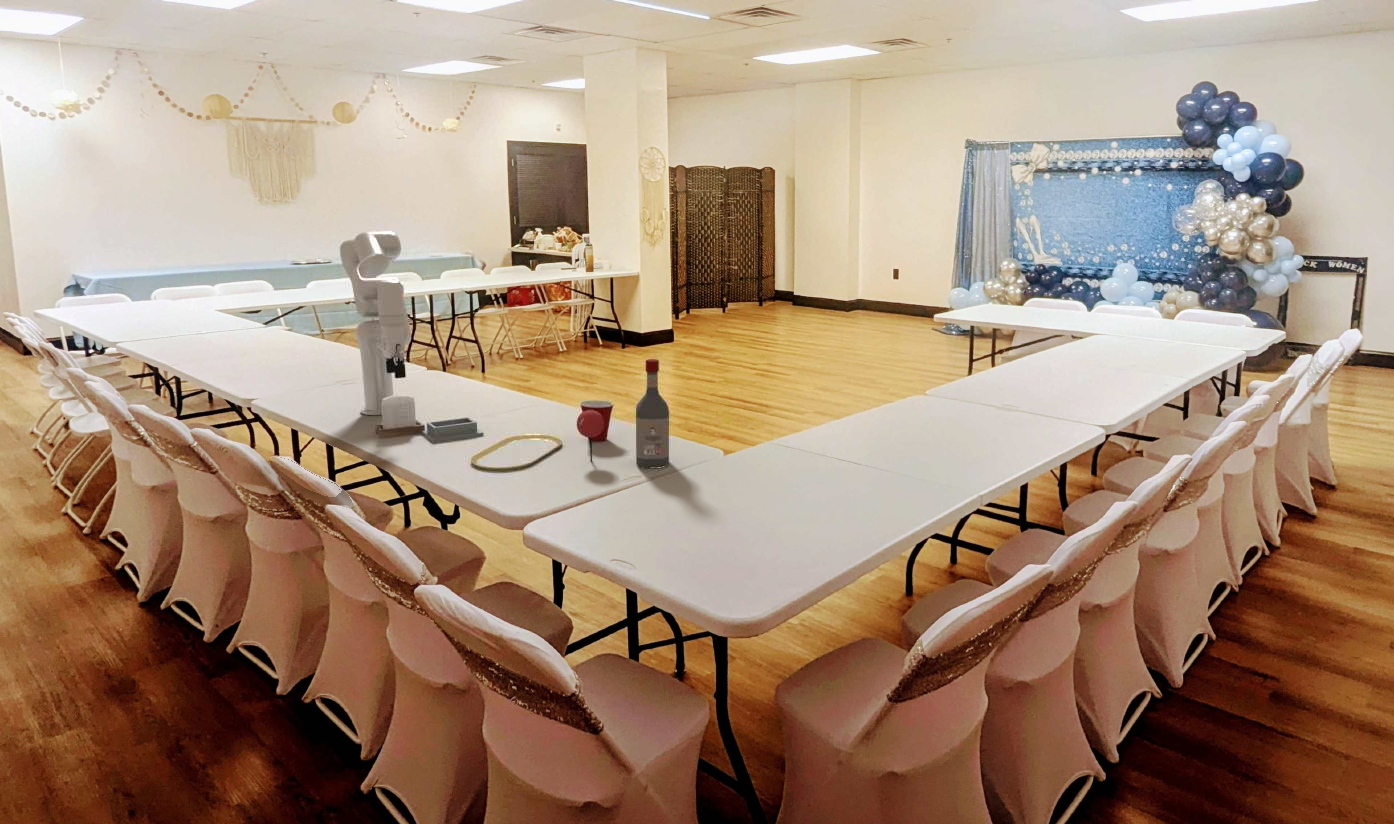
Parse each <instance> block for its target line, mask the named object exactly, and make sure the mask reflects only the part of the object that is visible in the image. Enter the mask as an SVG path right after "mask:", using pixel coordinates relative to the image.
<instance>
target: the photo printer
mask: <svg viewBox="0 0 1394 824" xmlns="http://www.w3.org/2000/svg"><path fill="white" fill-rule="evenodd" d="M381 417H382V424H383V430H385V429H393V428H401V427H408V426H416V420H417V418H416V403H415V399H414V396H412V395H410V394H409V395H408V394H403V393H402V394H393V396H389V397H386V398H384V399H382V415H381Z"/></svg>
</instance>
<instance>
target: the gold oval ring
mask: <svg viewBox="0 0 1394 824" xmlns="http://www.w3.org/2000/svg"><path fill="white" fill-rule="evenodd" d="M533 438H538V439H537V440H540V439H546V440H545V441H548V440H552V441H553V442H552V441H551V442H552V443H554V442H555V443H554V444H556V443H557V444H558V445H557V444H556V446H555V447H554V448H552V449H550V450H549V451H547V452H545V453H543V454H542V455H541V456H539V457H537V458H536V459H534V460H532V461H530V462H528V463H523V464H520V465H515V466H514V465H513V466H503V467H502V466H497V467H496V466H485V465H480V464H478V461H480V460H481V459H484V457H483V456H485V457H487V456H489V455H490V453H491V452H492V453H494V452H496V451H497V449H498V448H500V447H502V448H503V447H505V446H507V445H509V444H511V443H510V442H512V441H514V440H520V441H522V440H521V439H529V440H534V439H533ZM508 443H509V444H508ZM512 443H513V442H512ZM506 444H507V445H506ZM562 444H563V440H562V439H561V438H559V437H557V436H555V435H550V434H539V433H538V434H534V433H533V434H531V433H529V434H521V435H515V436H514V435H513V436H510V437H507V438H505V439H502V440H500V441H498V442H497V443H495V444H493V445H491V446H489V447H487V448H484V449H483V450H481V451H479V452H477V453H476V454H474V455H472V456H471V458H470V461H471V464H473V466H474V467H477V468H479V469H482V470H487V471H495V472H496V470H498V471H499V470H503V471H513V470H512V469H514V470H519V469H518V468H520V469H523V467H524V468H526V466H527V467H530V466H532V465H533V464H534V463H537V462H538V461H540V460H541V459H543V458H545V457H546V456H548V455H549V454H551V453H552V452H554V451H556V450H557V449H559V448H561V446H562ZM500 449H501V448H500ZM495 450H496V451H495ZM498 450H499V449H498ZM493 451H494V452H493ZM492 453H491V454H492ZM488 454H489V455H488ZM486 455H487V456H486ZM480 458H481V459H480ZM479 459H480V460H479ZM539 459H540V460H539ZM477 460H478V461H477ZM499 472H500V471H499Z"/></svg>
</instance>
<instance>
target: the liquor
mask: <svg viewBox="0 0 1394 824" xmlns="http://www.w3.org/2000/svg"><path fill="white" fill-rule="evenodd" d="M659 371H660V361H659V359H656V358H651V359H650V358H648V359H645V372H646V390H645V394H644V395H643V396H642V398H640V399H639V401H638V402H637V404H636V407H635V435H636V436H635V444H636V445H635V452H636V455H635V457H636V458H635V459H636V461H635V463H636V465H637V467H638V466H640V467H639V468H641V467H644V468H643V469H652V468H651V467H663V466H666V465H668V466H669V463H670V410H669V406H668V402H667V401H666V400H665V399H664V398H663V397H662V395H660V392H659V386H658V385H659V381H658V380H659V378H658V377H659V375H658V374H659V373H658V372H659ZM666 467H667V466H666ZM663 468H664V467H663Z"/></svg>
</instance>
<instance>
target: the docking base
mask: <svg viewBox="0 0 1394 824" xmlns="http://www.w3.org/2000/svg"><path fill="white" fill-rule="evenodd" d="M421 435H422V436H424V437H425V438H426V439H428V440H429V441H430V442H432V443H434V444H435V443H439V442H441V443H442V442H448V441H456V440H461V439H463V440H464V439H469V438H470V439H471V438H475V437H483V436H484V432H483V431H482V430H480V429H479V428H478V422H477V421H475V420H474V419H473V418H471V417H469V416H468V417H460V418H459V417H458V418H452V419H444V420H436V421H435V420H434V421H429V422H426V429H425V430H423V431H422V433H421Z"/></svg>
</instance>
